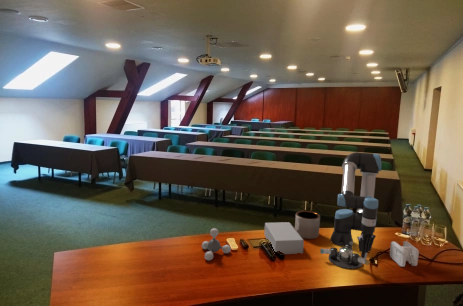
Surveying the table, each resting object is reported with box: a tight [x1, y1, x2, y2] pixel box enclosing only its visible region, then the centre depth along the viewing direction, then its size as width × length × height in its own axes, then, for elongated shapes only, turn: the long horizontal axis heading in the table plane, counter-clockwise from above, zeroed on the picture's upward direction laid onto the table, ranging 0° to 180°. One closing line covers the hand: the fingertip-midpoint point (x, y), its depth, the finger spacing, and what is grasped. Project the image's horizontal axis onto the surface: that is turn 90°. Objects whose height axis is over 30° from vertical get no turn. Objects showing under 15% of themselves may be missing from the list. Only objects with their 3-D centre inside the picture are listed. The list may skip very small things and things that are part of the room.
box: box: [263, 221, 305, 255], centre depth 223 cm, size 19×30×10 cm, turn 8°
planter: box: [294, 210, 321, 240], centre depth 238 cm, size 18×18×16 cm
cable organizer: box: [389, 240, 420, 268], centre depth 201 cm, size 15×11×12 cm
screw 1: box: [344, 241, 354, 250], centre depth 210 cm, size 10×4×6 cm, turn 148°
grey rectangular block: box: [320, 247, 339, 260], centre depth 202 cm, size 10×4×6 cm, turn 88°
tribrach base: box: [328, 246, 363, 270], centre depth 202 cm, size 20×20×8 cm
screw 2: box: [351, 252, 370, 266], centre depth 193 cm, size 10×4×6 cm, turn 40°
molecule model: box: [201, 227, 232, 262], centre depth 206 cm, size 20×16×20 cm
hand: (363, 262), depth 189 cm, fingers closed
